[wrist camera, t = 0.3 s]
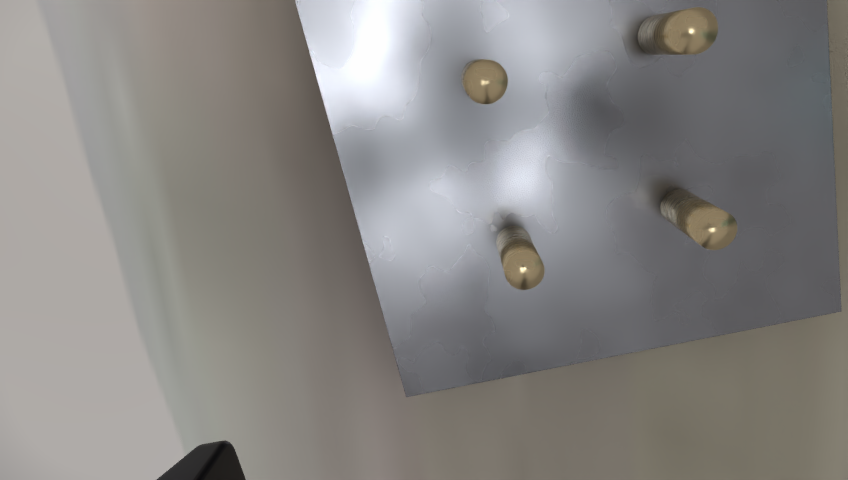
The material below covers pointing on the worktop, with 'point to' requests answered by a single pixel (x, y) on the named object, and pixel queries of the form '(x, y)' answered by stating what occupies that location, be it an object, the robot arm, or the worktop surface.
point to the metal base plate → (580, 173)
